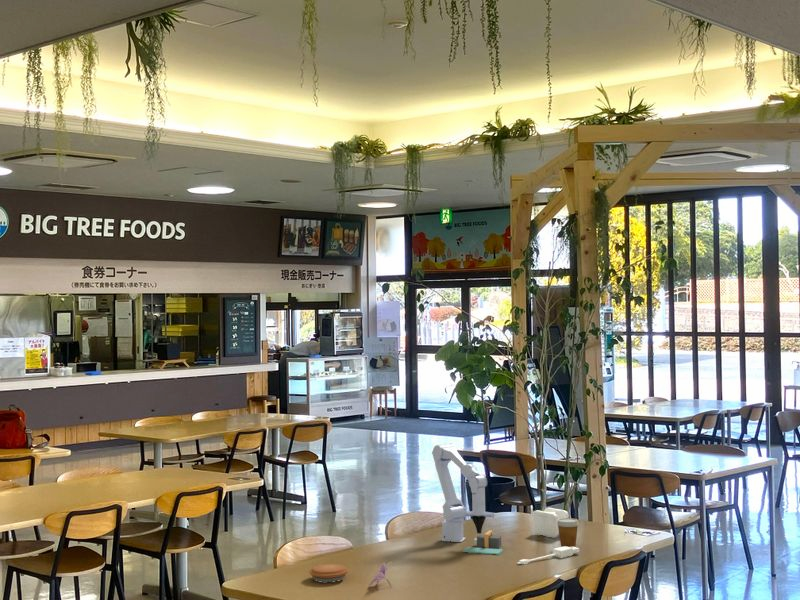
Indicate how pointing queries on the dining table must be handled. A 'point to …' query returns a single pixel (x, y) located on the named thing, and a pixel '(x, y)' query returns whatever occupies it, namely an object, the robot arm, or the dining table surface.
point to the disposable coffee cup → (568, 531)
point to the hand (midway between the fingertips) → (479, 533)
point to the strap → (487, 538)
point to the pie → (328, 572)
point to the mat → (483, 550)
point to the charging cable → (555, 553)
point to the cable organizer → (547, 521)
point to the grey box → (493, 541)
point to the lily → (381, 574)
